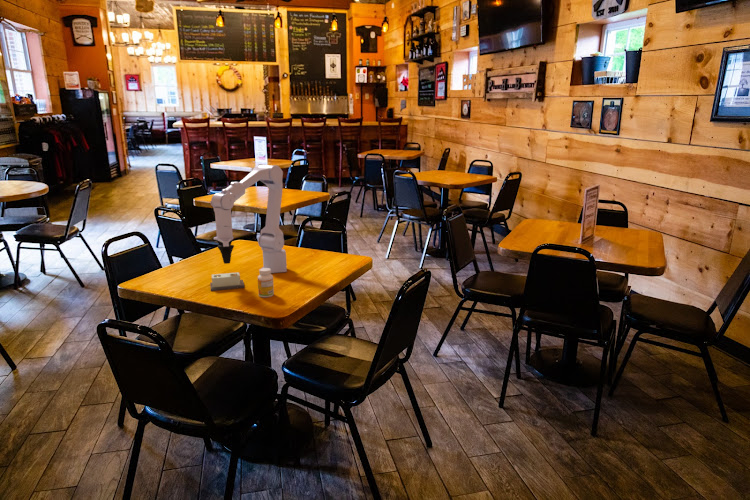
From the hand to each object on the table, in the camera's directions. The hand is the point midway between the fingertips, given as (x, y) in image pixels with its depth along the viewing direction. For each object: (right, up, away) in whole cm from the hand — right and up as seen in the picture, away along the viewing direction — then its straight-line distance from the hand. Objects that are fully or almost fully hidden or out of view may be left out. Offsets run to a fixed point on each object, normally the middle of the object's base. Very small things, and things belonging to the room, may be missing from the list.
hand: (226, 260), depth 190 cm
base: (0, -10, +1) cm, 10 cm away
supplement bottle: (+17, -13, -8) cm, 22 cm away
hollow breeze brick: (0, -9, +1) cm, 9 cm away
